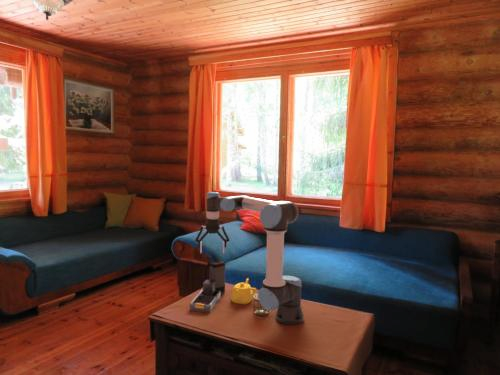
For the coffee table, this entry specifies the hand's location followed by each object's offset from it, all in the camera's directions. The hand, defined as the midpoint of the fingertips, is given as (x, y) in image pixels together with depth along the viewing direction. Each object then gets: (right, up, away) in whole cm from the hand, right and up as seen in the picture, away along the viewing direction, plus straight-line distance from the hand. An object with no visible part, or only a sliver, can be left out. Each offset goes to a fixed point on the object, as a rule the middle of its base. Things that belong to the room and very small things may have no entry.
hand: (212, 252), depth 220 cm
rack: (-3, -29, -4) cm, 30 cm away
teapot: (+19, -29, +2) cm, 35 cm away
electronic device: (+2, -28, +12) cm, 31 cm away
